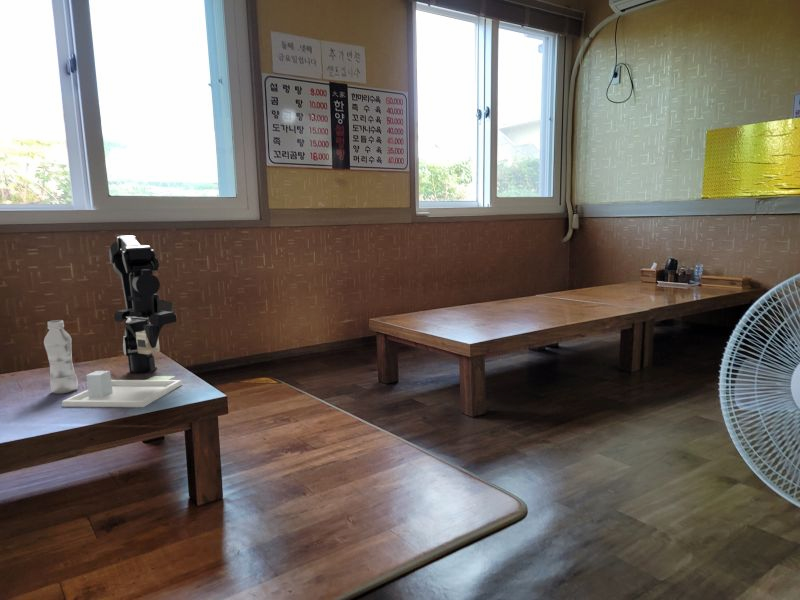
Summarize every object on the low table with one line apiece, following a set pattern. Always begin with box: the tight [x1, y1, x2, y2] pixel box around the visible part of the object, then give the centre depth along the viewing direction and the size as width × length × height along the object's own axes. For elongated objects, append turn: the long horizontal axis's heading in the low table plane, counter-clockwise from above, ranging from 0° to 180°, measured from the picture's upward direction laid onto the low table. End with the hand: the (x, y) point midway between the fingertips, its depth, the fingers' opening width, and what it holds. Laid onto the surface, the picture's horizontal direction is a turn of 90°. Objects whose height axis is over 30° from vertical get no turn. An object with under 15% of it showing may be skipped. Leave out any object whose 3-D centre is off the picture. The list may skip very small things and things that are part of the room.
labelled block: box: [136, 330, 161, 354], centre depth 154 cm, size 4×4×6 cm
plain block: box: [85, 370, 113, 397], centre depth 146 cm, size 4×4×6 cm
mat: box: [146, 375, 176, 380], centre depth 159 cm, size 7×6×1 cm
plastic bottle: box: [43, 319, 79, 395], centre depth 150 cm, size 6×7×20 cm
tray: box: [61, 379, 183, 408], centre depth 145 cm, size 22×18×2 cm
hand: (148, 346), depth 154 cm, fingers closed on labelled block, 4 cm apart
